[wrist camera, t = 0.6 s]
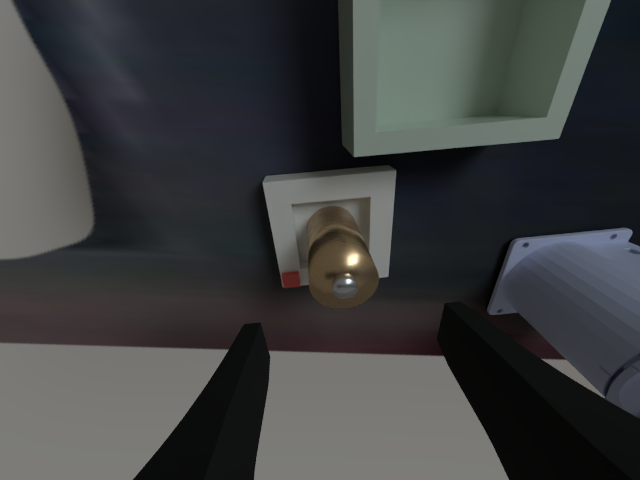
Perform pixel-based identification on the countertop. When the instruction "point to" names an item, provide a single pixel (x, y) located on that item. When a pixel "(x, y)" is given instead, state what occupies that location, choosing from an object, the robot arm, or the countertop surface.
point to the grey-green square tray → (460, 71)
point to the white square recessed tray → (329, 190)
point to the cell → (339, 260)
